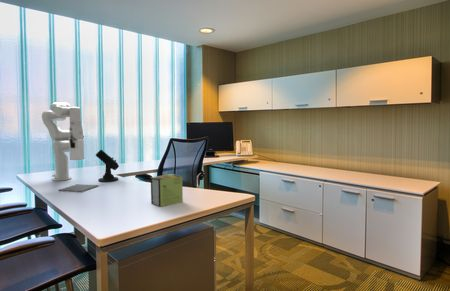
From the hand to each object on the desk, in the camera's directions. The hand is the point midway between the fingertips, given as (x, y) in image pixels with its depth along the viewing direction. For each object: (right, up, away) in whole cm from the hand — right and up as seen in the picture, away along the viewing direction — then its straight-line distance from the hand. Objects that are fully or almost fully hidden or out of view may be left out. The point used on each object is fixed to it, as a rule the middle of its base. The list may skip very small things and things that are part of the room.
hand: (76, 147), depth 222 cm
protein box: (+77, -32, -48) cm, 97 cm away
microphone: (+17, -27, +16) cm, 36 cm away
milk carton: (0, -10, +1) cm, 10 cm away
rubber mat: (+8, -29, -12) cm, 33 cm away
